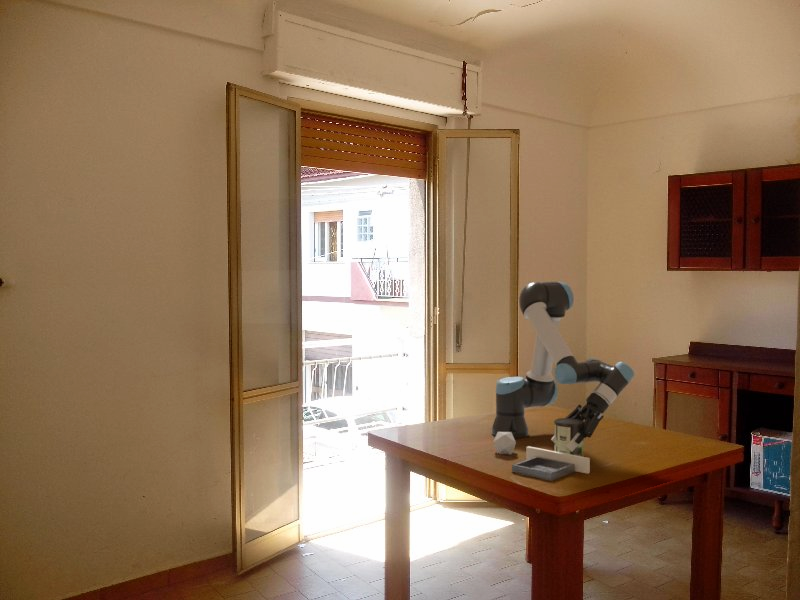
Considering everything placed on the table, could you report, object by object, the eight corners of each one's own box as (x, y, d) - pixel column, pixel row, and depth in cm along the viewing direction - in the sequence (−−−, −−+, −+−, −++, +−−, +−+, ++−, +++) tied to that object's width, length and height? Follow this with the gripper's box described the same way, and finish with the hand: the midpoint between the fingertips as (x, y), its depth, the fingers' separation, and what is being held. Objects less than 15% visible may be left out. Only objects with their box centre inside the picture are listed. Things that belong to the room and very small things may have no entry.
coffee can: (582, 457, 256) (583, 418, 255) (584, 465, 246) (584, 424, 245) (553, 455, 258) (553, 417, 257) (553, 463, 248) (554, 423, 247)
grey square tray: (512, 472, 239) (512, 464, 239) (536, 463, 250) (536, 456, 250) (550, 481, 229) (551, 473, 229) (574, 471, 240) (574, 464, 240)
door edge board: (526, 460, 254) (526, 447, 253) (528, 460, 255) (528, 446, 255) (587, 473, 237) (587, 458, 237) (589, 472, 238) (589, 458, 238)
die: (507, 459, 258) (521, 437, 260) (487, 446, 261) (501, 424, 263) (507, 461, 266) (521, 440, 268) (487, 448, 269) (501, 427, 270)
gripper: (625, 412, 245) (585, 460, 241) (590, 400, 266) (552, 444, 262) (612, 397, 243) (571, 446, 239) (577, 386, 264) (539, 431, 261)
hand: (561, 445), depth 251 cm, fingers closed on coffee can, 10 cm apart
